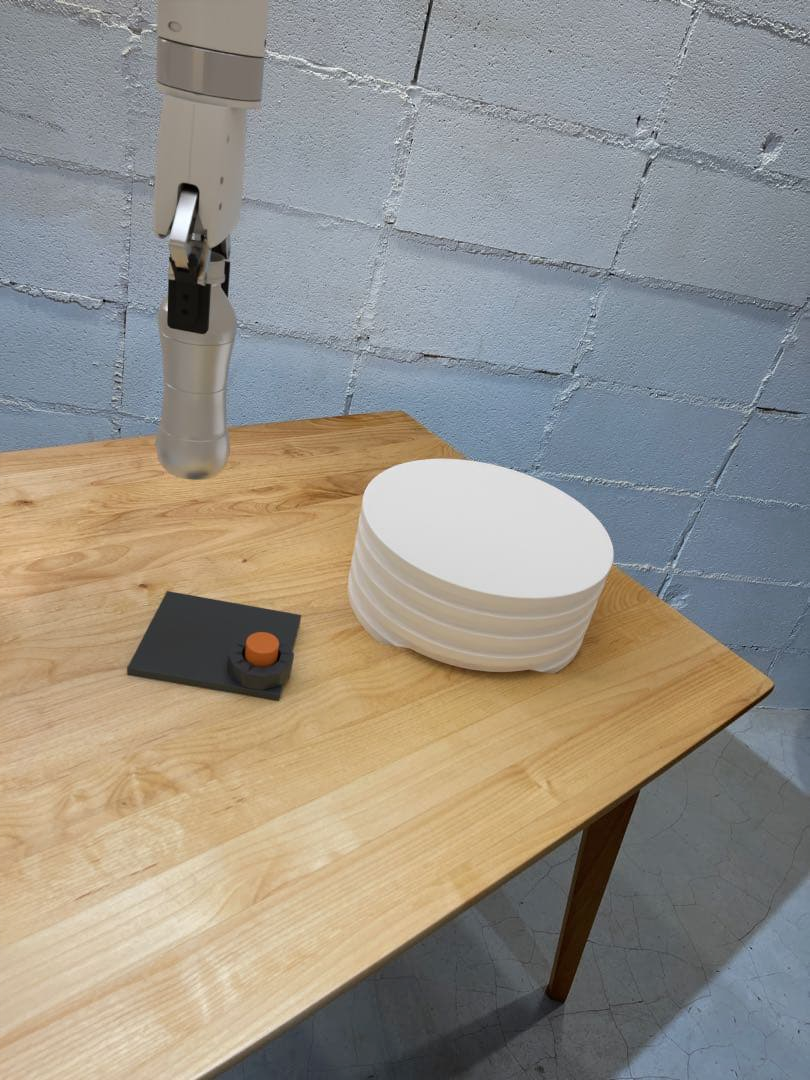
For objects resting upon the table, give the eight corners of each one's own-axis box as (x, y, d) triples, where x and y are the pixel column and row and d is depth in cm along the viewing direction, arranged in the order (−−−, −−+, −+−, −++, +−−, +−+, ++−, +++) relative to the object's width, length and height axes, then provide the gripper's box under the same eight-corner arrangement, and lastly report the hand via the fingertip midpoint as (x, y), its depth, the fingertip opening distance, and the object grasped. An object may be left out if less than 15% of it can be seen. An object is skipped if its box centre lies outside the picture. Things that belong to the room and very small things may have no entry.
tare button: (241, 664, 75) (243, 649, 74) (248, 643, 77) (250, 629, 76) (274, 670, 75) (275, 655, 74) (280, 649, 77) (281, 634, 76)
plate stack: (622, 616, 99) (655, 537, 93) (497, 727, 79) (528, 636, 73) (442, 513, 112) (461, 439, 106) (296, 586, 92) (308, 499, 86)
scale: (126, 685, 75) (126, 652, 73) (166, 607, 85) (167, 576, 83) (282, 712, 76) (287, 680, 73) (303, 631, 86) (307, 601, 84)
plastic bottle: (215, 495, 74) (230, 273, 63) (142, 478, 74) (145, 254, 63) (237, 464, 79) (254, 255, 69) (169, 448, 79) (176, 238, 69)
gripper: (189, 61, 66) (181, 281, 76) (119, 70, 52) (120, 342, 61) (280, 80, 67) (261, 296, 76) (237, 95, 52) (220, 361, 62)
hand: (198, 315), depth 69 cm, fingers closed on plastic bottle, 6 cm apart
